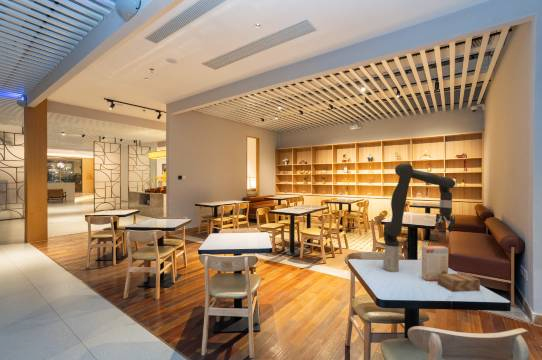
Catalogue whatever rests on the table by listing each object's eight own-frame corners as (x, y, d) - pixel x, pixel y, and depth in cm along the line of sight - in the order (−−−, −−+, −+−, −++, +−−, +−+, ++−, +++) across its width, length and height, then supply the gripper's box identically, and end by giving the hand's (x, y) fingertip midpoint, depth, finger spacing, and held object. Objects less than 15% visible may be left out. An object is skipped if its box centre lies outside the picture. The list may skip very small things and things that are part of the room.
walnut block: (452, 291, 155) (452, 280, 155) (437, 284, 166) (437, 274, 166) (479, 290, 158) (479, 279, 158) (463, 282, 168) (463, 273, 168)
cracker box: (442, 277, 177) (442, 245, 177) (448, 281, 171) (449, 248, 171) (420, 277, 177) (421, 245, 177) (426, 281, 171) (427, 247, 171)
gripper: (433, 205, 197) (432, 227, 197) (449, 207, 183) (448, 231, 183) (442, 205, 198) (441, 227, 198) (459, 207, 184) (457, 231, 184)
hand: (444, 229), depth 191 cm, fingers open, 8 cm apart
